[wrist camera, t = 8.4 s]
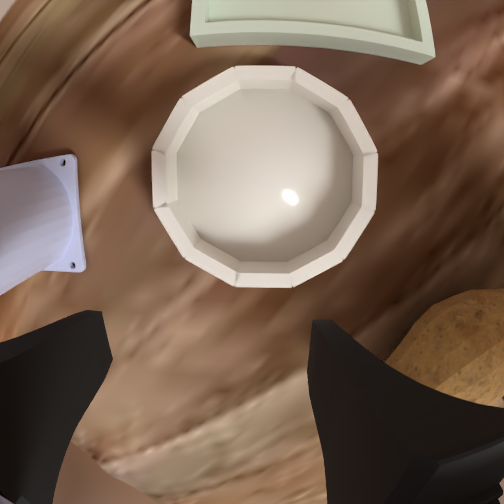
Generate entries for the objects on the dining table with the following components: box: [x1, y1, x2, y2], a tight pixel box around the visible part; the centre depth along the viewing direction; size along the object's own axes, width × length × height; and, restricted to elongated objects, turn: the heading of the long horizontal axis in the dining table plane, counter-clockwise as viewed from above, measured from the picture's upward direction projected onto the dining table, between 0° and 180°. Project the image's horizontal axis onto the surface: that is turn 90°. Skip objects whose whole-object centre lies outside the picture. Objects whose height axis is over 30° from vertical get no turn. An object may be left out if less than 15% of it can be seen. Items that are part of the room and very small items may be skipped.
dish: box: [152, 66, 378, 288], centre depth 16 cm, size 12×12×2 cm
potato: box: [385, 288, 504, 406], centre depth 16 cm, size 10×14×8 cm
